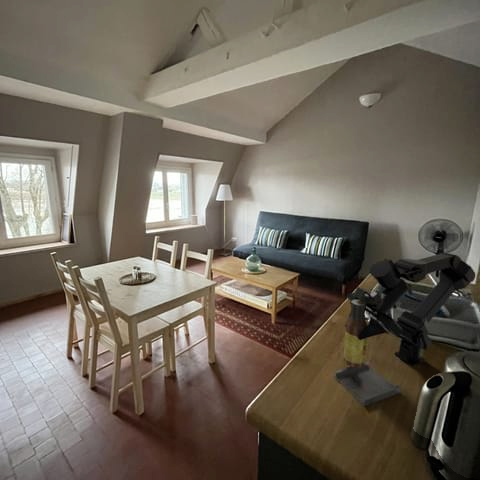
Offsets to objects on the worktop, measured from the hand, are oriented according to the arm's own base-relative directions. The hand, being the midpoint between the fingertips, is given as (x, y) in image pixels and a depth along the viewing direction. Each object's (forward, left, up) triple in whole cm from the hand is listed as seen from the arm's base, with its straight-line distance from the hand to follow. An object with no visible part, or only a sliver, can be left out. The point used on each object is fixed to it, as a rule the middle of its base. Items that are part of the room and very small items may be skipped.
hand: (352, 332), depth 79 cm
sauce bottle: (-1, 0, -10) cm, 10 cm away
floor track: (-1, +6, -13) cm, 15 cm away
